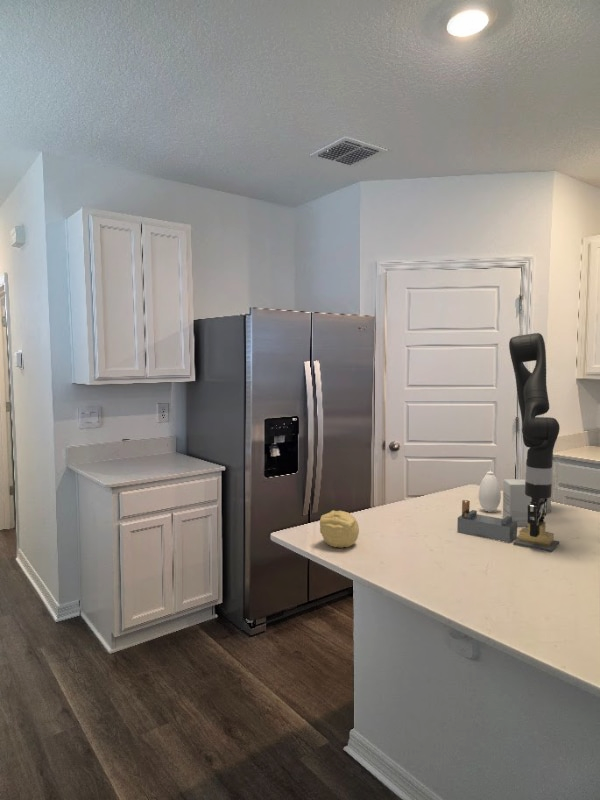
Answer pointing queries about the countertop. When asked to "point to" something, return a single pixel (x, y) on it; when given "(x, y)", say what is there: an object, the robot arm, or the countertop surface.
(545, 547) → the rubber mat
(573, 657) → the countertop surface
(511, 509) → the supplement box
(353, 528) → the pale yellow lumpy ball
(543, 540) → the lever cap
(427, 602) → the countertop surface
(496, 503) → the white ovoid vessel
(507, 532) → the grey block holder tray
